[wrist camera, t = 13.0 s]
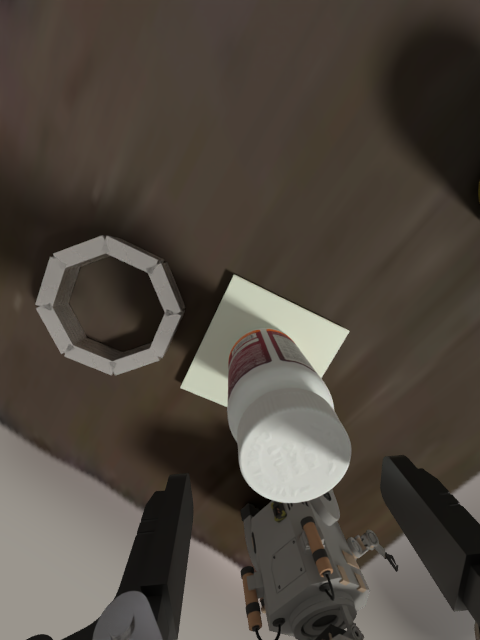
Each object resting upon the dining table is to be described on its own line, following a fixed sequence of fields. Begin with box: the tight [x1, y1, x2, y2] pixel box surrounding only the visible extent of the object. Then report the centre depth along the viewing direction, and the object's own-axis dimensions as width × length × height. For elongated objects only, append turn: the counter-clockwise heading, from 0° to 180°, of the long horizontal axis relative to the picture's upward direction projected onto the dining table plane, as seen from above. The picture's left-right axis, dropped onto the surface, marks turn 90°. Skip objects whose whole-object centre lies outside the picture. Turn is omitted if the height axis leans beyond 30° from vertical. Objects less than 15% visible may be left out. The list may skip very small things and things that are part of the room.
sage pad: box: [180, 274, 349, 407], centre depth 23 cm, size 11×11×1 cm
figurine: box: [241, 489, 398, 640], centre depth 20 cm, size 9×12×15 cm
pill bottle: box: [227, 328, 351, 503], centre depth 17 cm, size 6×6×11 cm
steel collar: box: [36, 235, 185, 375], centre depth 21 cm, size 10×10×2 cm
